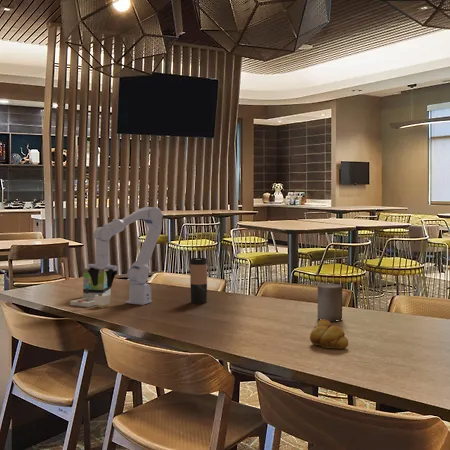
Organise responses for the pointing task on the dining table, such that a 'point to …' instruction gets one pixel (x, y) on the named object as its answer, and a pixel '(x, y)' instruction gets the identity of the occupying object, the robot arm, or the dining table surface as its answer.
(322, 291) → the pillar candle
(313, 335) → the bread roll
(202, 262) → the travel mug
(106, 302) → the plug
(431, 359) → the dining table surface
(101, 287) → the tea box
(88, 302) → the socket plate
